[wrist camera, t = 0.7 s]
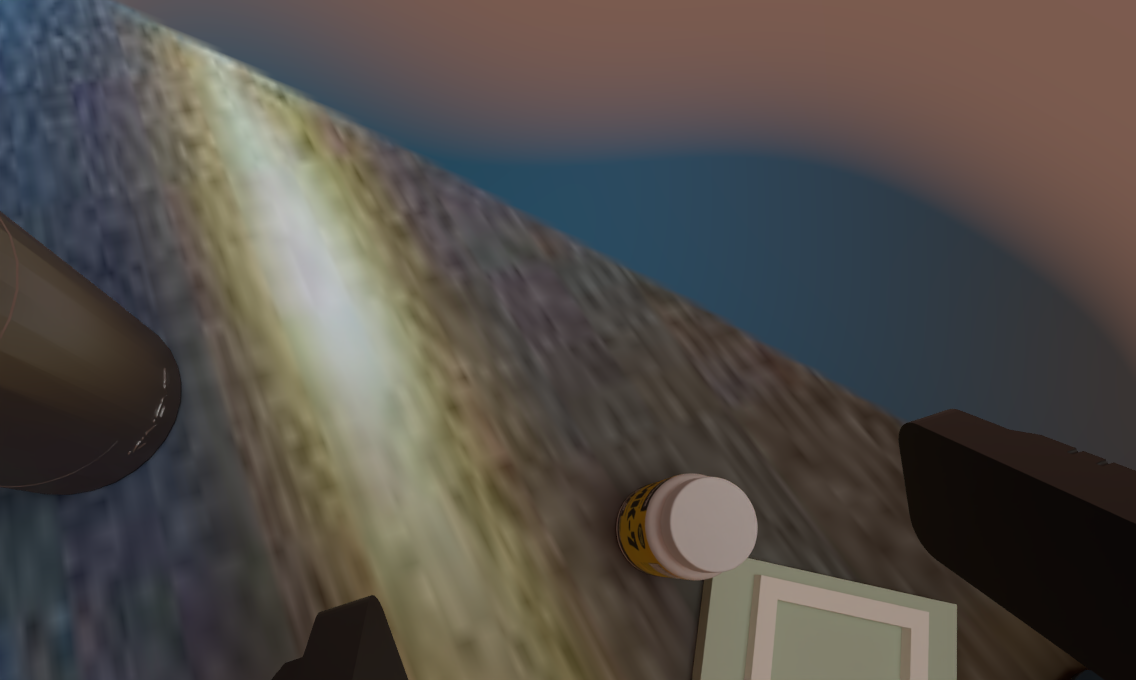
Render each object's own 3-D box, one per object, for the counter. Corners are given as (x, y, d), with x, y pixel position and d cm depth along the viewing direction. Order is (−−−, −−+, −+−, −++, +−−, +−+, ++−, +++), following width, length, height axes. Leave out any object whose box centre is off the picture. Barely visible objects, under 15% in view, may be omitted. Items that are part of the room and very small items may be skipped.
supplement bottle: (628, 472, 37) (679, 450, 29) (707, 502, 38) (778, 487, 30) (602, 559, 36) (648, 560, 28) (685, 589, 36) (753, 598, 28)
